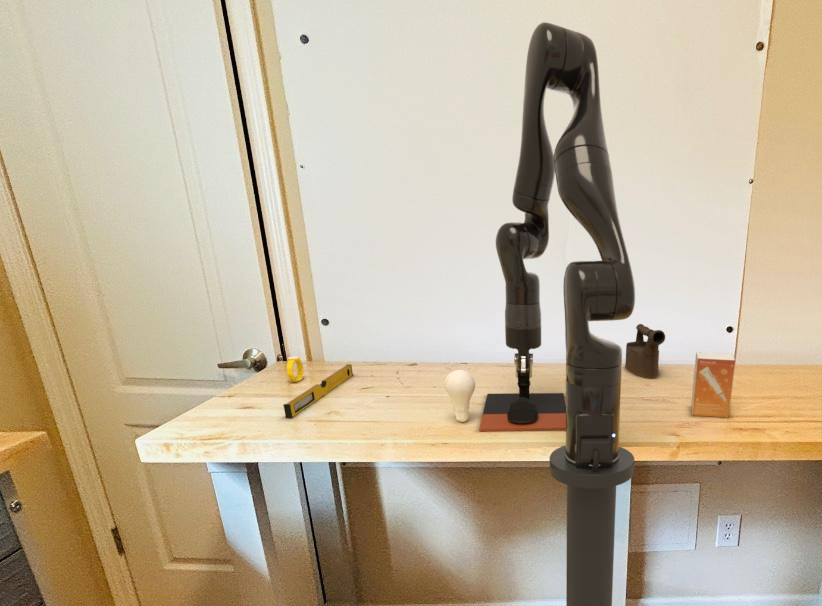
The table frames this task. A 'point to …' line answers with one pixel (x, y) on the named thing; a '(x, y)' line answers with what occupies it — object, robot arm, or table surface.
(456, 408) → the lightbulb
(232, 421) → the table surface
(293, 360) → the yellow ring
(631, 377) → the table surface
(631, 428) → the table surface
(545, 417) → the desk mat
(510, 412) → the gaming mouse
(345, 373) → the spirit level
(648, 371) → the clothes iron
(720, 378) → the small box
